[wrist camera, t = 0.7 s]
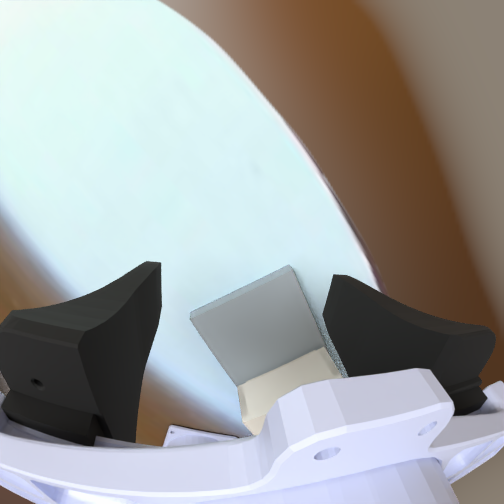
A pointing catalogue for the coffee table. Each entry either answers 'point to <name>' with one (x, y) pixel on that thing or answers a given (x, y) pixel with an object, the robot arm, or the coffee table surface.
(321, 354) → the block
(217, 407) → the coffee table surface
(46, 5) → the coffee table surface
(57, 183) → the coffee table surface
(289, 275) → the board
